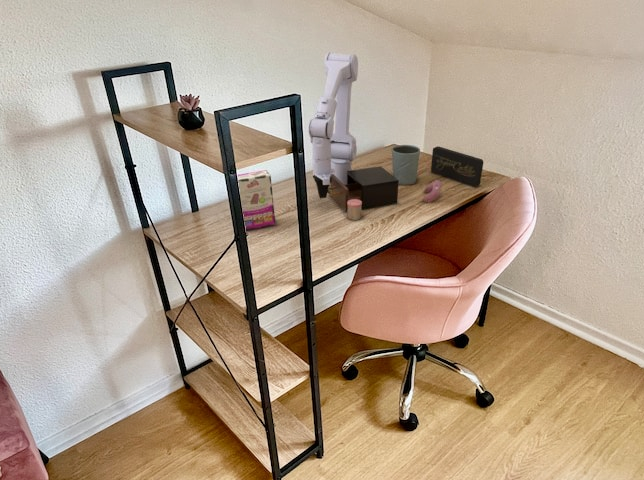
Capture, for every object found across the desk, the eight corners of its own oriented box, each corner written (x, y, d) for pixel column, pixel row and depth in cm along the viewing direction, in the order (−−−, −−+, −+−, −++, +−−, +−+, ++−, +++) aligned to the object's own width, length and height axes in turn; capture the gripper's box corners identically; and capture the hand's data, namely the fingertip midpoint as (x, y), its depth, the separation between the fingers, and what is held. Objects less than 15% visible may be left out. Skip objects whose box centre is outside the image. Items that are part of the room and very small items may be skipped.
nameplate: (430, 172, 190) (433, 146, 184) (433, 170, 191) (436, 145, 185) (476, 187, 177) (480, 161, 171) (479, 186, 178) (483, 159, 172)
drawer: (334, 213, 158) (334, 191, 154) (320, 197, 169) (320, 175, 165) (380, 205, 163) (381, 183, 159) (364, 190, 174) (364, 169, 170)
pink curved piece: (432, 207, 166) (444, 191, 162) (421, 201, 166) (432, 184, 162) (434, 196, 174) (445, 180, 170) (423, 189, 174) (434, 173, 170)
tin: (344, 218, 156) (344, 203, 153) (351, 212, 160) (351, 198, 157) (357, 221, 154) (357, 206, 151) (364, 216, 158) (364, 201, 155)
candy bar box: (271, 218, 156) (266, 169, 147) (275, 225, 152) (271, 175, 143) (236, 225, 152) (229, 174, 143) (240, 232, 148) (233, 180, 140)
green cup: (417, 186, 178) (419, 154, 171) (389, 184, 179) (390, 152, 173) (417, 176, 186) (420, 145, 180) (391, 174, 187) (392, 143, 181)
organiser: (362, 209, 161) (362, 185, 157) (346, 193, 172) (346, 171, 168) (397, 203, 165) (398, 180, 161) (379, 188, 176) (380, 166, 172)
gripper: (339, 164, 149) (339, 205, 156) (329, 148, 161) (330, 187, 168) (316, 166, 148) (317, 207, 155) (308, 150, 160) (310, 189, 167)
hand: (322, 197), depth 162 cm, fingers closed
